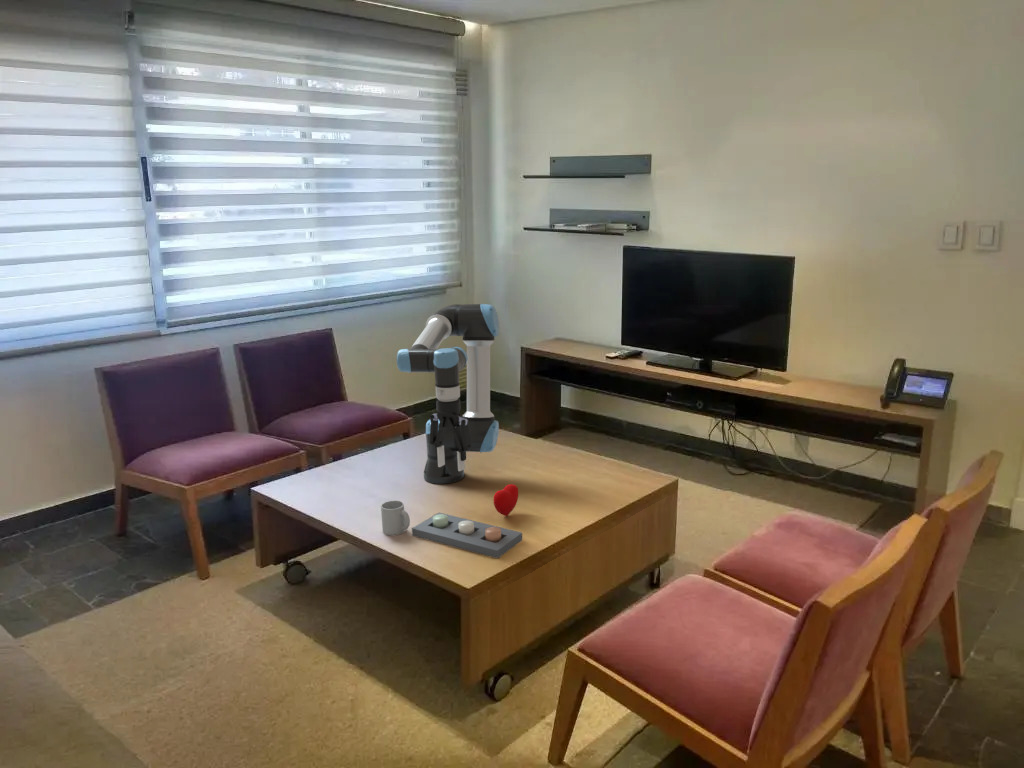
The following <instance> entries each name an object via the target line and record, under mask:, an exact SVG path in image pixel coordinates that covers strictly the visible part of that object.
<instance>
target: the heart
mask: <svg viewBox="0 0 1024 768" xmlns="http://www.w3.org/2000/svg"><path fill="white" fill-rule="evenodd" d="M519 492H520V491H519V488H518V486H517V485H516V484H514V483H510V484H507V485H505V486H504V487H503V489H498V491H496V492H495V493H494V495H493V500H492V501H493V506H494V509H495V511H496V512H497V513H499V514H500V515H502V516H505V517H508V516H509V515H510V514H511V512H512V511H513V510H514V508H516V505H517V503H518V499H519Z"/></svg>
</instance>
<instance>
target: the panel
mask: <svg viewBox="0 0 1024 768" xmlns="http://www.w3.org/2000/svg"><path fill="white" fill-rule="evenodd" d="M438 514H444V515H447V516H448V526H447V527H446V528H444V529H439V528H435V527H433V516H435V515H438ZM467 520H468V521H472V522H474V533H473V534H471V535H470V536H466V535H462V534H459V526H458V524H459V522H461V521H467ZM490 527H498V528H500V529H501V540H500V541H499V542H497V543H494V542H490V541H486V537H485V530H486V529H487V528H490ZM411 535H412V537H416V538H419V539H420V538H421V539H423V540H427V541H431V542H435V543H439V544H442V545H446V546H450V547H454V548H457V549H461V550H464V551H469V552H473V553H476V554H480V555H484V556H488V557H490V556H491V557H490V558H493V559H494V558H495V559H499V558H500V557H502V556H503V555H504V554H506V553H507V552H508V551H510V550H511V549H513V548H514V547H515V546H517V545H518V544H519V543H521V542H522V541H523V532H521V531H517V530H513V529H510V528H509V529H508V528H504V527H501V526H497V525H492V524H488V523H485V522H480V521H476V520H472V519H467V518H463V517H460V516H455V515H452V514H448V513H447V514H446V513H443V512H437V513H436V514H434V515H432V516H430V517H429V518H427V519H424V521H421V522H420V523H418V524H417V525H415V526H413V527H411Z"/></svg>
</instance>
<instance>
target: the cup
mask: <svg viewBox="0 0 1024 768" xmlns="http://www.w3.org/2000/svg"><path fill="white" fill-rule="evenodd" d="M380 512H381V526H382V527H381V528H382V532H383V534H385V535H387V536H393V537H394V536H398V535H402V534H403V533H404V532H405V531H407V530H408V529H409V527H410V525H411V520H410V515H409V514H408V512H407V511H406V510H405V503H404V502H403V501H401V500H388V501H384V502H383V503H382V504H381V505H380Z"/></svg>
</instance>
